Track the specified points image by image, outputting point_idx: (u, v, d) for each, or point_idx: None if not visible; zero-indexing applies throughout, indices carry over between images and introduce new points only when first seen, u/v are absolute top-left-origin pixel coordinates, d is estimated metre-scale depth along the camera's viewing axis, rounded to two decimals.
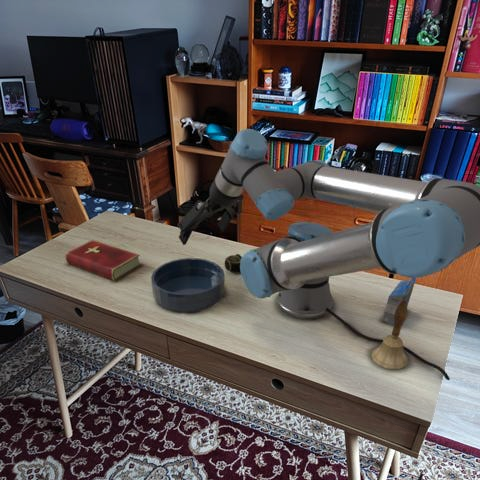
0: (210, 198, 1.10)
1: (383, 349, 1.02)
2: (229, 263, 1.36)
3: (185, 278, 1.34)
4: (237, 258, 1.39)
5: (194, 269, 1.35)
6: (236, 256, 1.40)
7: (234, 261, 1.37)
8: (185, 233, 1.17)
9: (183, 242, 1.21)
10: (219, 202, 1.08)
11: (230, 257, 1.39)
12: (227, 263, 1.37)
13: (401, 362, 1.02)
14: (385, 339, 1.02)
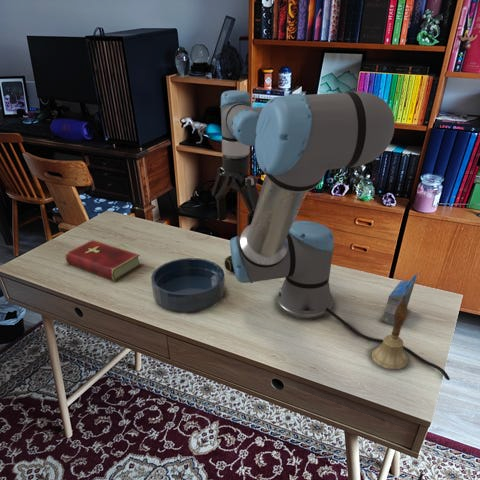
0: None
1: (384, 349, 1.02)
2: (229, 263, 1.36)
3: (185, 278, 1.34)
4: None
5: (194, 269, 1.35)
6: None
7: None
8: (217, 203, 1.34)
9: None
10: None
11: (230, 257, 1.39)
12: (227, 263, 1.37)
13: (401, 362, 1.02)
14: (385, 339, 1.02)
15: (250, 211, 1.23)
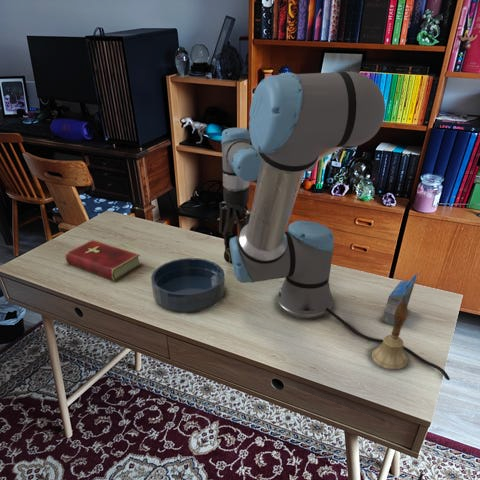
0: None
1: (384, 349, 1.02)
2: (228, 255, 1.34)
3: (185, 278, 1.34)
4: None
5: (194, 269, 1.35)
6: None
7: None
8: (225, 240, 1.38)
9: None
10: None
11: (229, 249, 1.37)
12: (226, 255, 1.35)
13: (401, 362, 1.02)
14: (385, 339, 1.02)
15: None
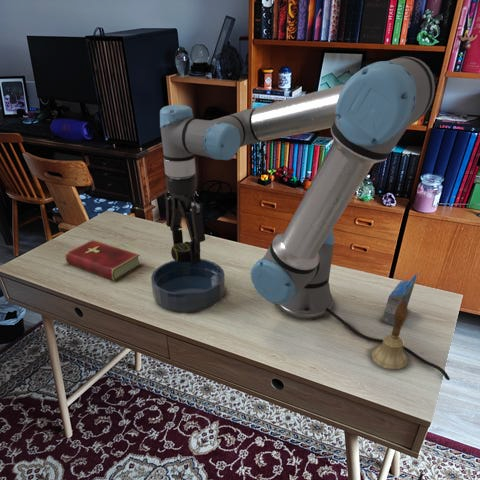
0: None
1: (384, 349, 1.02)
2: (175, 252, 1.18)
3: (185, 278, 1.34)
4: (185, 246, 1.21)
5: (194, 269, 1.35)
6: (185, 244, 1.22)
7: (182, 249, 1.19)
8: (173, 235, 1.22)
9: None
10: None
11: (177, 245, 1.21)
12: (173, 252, 1.19)
13: (401, 362, 1.02)
14: (385, 339, 1.02)
15: (192, 239, 1.14)
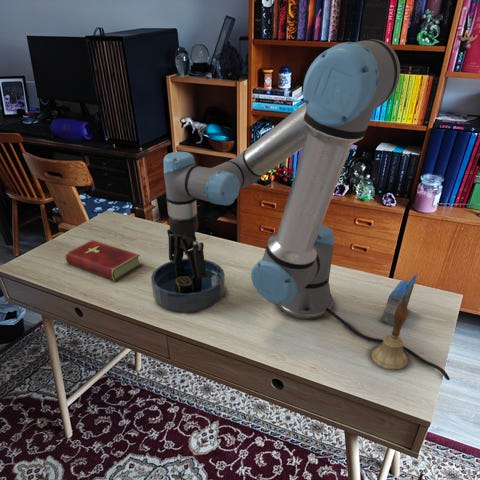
0: None
1: (383, 349, 1.02)
2: (178, 285, 1.24)
3: None
4: (187, 279, 1.27)
5: None
6: (187, 277, 1.28)
7: (184, 283, 1.25)
8: None
9: None
10: None
11: (180, 278, 1.27)
12: (176, 285, 1.25)
13: (401, 362, 1.02)
14: (385, 339, 1.02)
15: (193, 274, 1.20)
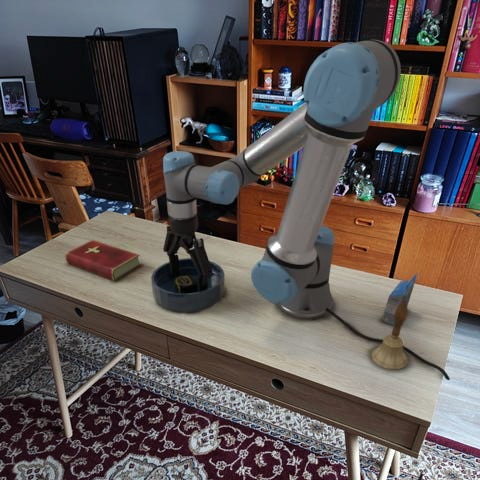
0: None
1: (384, 349, 1.02)
2: (178, 285, 1.24)
3: None
4: (187, 279, 1.27)
5: (194, 269, 1.35)
6: (186, 277, 1.28)
7: (184, 283, 1.25)
8: None
9: None
10: None
11: (180, 278, 1.27)
12: (176, 285, 1.25)
13: (401, 362, 1.02)
14: (385, 339, 1.02)
15: (199, 272, 1.18)
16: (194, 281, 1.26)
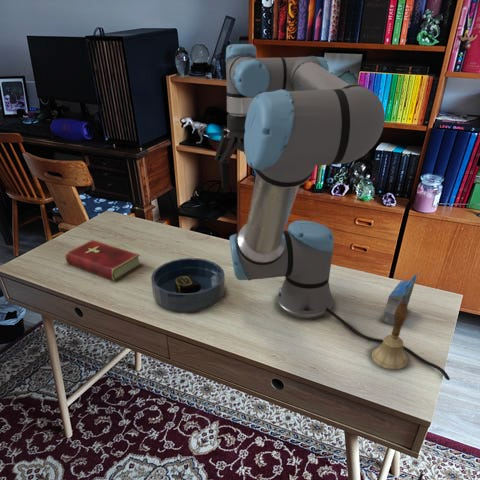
0: None
1: (383, 349, 1.02)
2: (178, 285, 1.24)
3: None
4: (187, 279, 1.27)
5: (194, 269, 1.35)
6: (186, 277, 1.28)
7: (184, 283, 1.25)
8: None
9: None
10: None
11: (180, 278, 1.27)
12: (176, 285, 1.25)
13: (401, 362, 1.02)
14: (385, 339, 1.02)
15: None
16: (194, 281, 1.26)
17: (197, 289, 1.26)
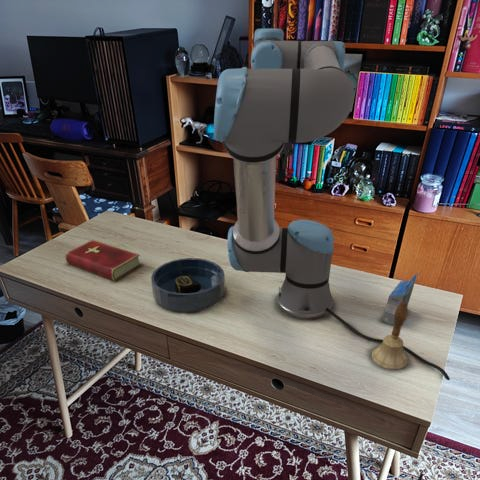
0: None
1: (384, 349, 1.02)
2: (178, 285, 1.24)
3: None
4: (187, 279, 1.27)
5: (194, 269, 1.35)
6: (186, 277, 1.28)
7: (184, 283, 1.25)
8: None
9: None
10: None
11: (180, 278, 1.27)
12: (176, 285, 1.25)
13: (401, 362, 1.02)
14: (385, 339, 1.02)
15: (281, 153, 1.23)
16: (194, 281, 1.26)
17: (197, 289, 1.26)
